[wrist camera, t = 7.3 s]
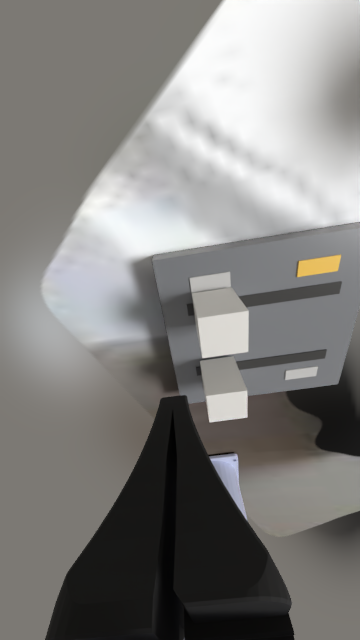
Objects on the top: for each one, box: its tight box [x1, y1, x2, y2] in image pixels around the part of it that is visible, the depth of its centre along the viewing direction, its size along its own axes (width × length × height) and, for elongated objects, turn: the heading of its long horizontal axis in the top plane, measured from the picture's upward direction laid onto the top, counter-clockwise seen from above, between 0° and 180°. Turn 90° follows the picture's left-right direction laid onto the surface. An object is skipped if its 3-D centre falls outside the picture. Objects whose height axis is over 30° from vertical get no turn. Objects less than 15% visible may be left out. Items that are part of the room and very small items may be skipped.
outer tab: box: [192, 287, 249, 358], centre depth 15 cm, size 3×3×4 cm
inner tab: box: [200, 356, 247, 422], centre depth 18 cm, size 3×3×4 cm
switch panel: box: [152, 222, 360, 404], centre depth 19 cm, size 15×16×2 cm
